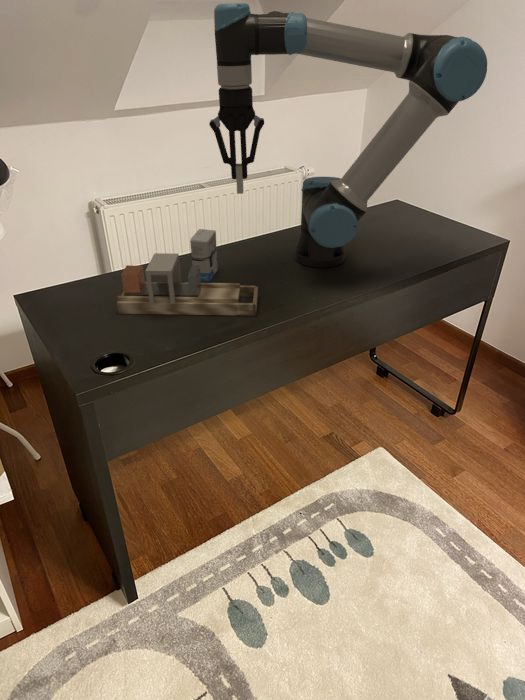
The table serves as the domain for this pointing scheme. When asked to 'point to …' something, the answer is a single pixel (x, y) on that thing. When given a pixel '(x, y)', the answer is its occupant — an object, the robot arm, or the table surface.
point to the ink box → (204, 253)
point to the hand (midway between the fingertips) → (240, 191)
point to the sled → (159, 284)
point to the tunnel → (163, 273)
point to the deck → (197, 301)
